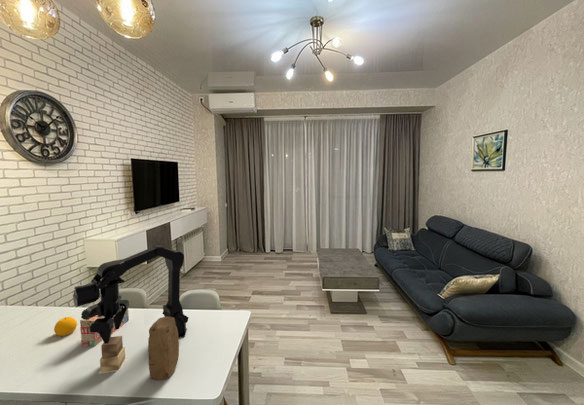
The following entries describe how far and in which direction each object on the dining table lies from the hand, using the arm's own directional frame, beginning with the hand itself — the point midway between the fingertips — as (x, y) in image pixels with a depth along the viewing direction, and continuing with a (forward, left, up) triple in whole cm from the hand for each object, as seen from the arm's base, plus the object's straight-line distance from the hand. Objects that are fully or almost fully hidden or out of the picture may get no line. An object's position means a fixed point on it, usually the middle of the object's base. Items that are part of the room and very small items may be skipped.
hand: (112, 335), depth 98 cm
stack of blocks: (+13, -25, -12) cm, 30 cm away
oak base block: (0, +1, -11) cm, 11 cm away
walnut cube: (0, +1, -6) cm, 6 cm away
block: (-20, +8, -12) cm, 25 cm away
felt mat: (-2, -1, -12) cm, 12 cm away
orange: (+31, -28, -12) cm, 43 cm away
